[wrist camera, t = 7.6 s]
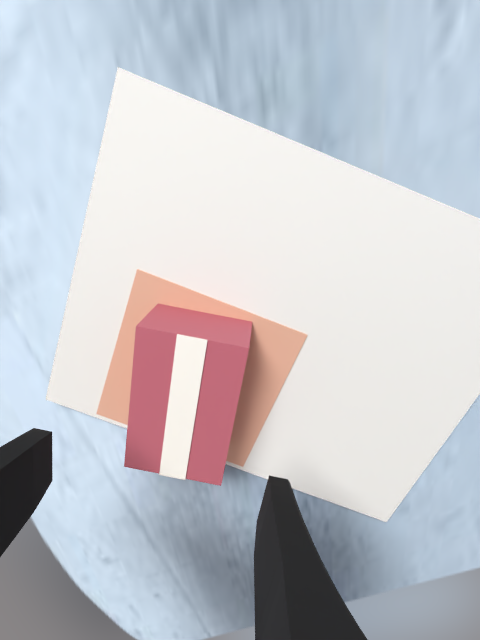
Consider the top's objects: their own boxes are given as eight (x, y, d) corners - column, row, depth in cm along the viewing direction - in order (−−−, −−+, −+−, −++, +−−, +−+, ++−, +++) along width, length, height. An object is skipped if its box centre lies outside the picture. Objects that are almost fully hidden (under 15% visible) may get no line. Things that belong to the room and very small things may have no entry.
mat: (565, 257, 16) (578, 259, 15) (383, 513, 21) (386, 523, 20) (123, 71, 15) (117, 66, 14) (51, 393, 20) (44, 400, 19)
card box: (227, 442, 19) (220, 486, 17) (145, 426, 19) (123, 467, 17) (252, 321, 17) (249, 348, 14) (157, 303, 17) (135, 326, 14)
